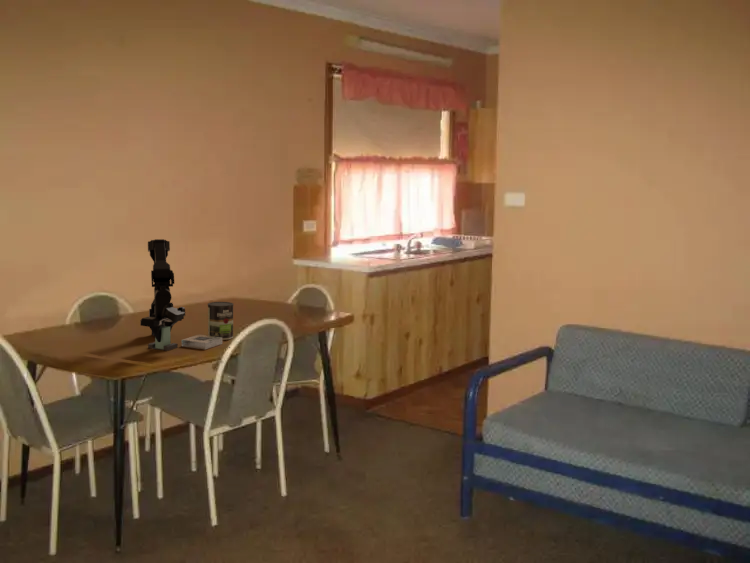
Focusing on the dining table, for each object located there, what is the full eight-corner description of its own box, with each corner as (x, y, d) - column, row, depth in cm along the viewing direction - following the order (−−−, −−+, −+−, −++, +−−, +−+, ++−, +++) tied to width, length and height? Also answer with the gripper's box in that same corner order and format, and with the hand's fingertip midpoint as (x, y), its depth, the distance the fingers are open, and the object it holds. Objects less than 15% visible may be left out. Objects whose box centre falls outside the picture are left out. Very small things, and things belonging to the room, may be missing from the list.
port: (181, 348, 312) (181, 339, 312) (199, 343, 322) (199, 334, 322) (205, 352, 308) (205, 343, 307) (222, 346, 318) (222, 337, 317)
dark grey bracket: (148, 350, 308) (148, 344, 308) (158, 347, 314) (158, 341, 313) (167, 353, 305) (167, 346, 304) (177, 350, 310) (177, 343, 310)
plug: (155, 348, 308) (154, 323, 307) (162, 346, 312) (161, 321, 310) (163, 349, 306) (163, 324, 305) (170, 347, 310) (170, 322, 309)
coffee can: (237, 338, 332) (237, 304, 330) (214, 341, 326) (214, 306, 324) (226, 333, 340) (226, 300, 338) (203, 336, 334) (203, 302, 332)
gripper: (163, 306, 295) (164, 348, 297) (195, 298, 311) (195, 338, 314) (139, 303, 299) (139, 344, 301) (171, 296, 316) (172, 335, 318)
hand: (162, 340), depth 309 cm, fingers closed on plug, 4 cm apart
